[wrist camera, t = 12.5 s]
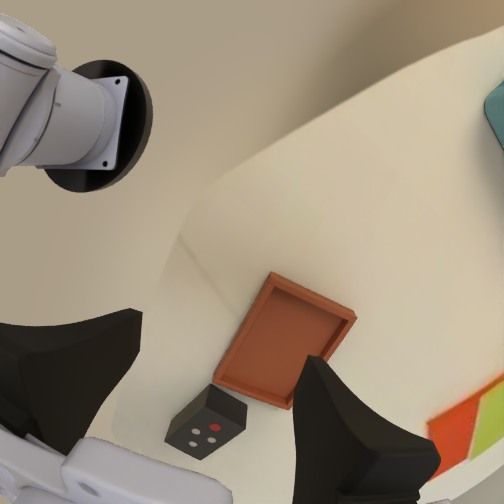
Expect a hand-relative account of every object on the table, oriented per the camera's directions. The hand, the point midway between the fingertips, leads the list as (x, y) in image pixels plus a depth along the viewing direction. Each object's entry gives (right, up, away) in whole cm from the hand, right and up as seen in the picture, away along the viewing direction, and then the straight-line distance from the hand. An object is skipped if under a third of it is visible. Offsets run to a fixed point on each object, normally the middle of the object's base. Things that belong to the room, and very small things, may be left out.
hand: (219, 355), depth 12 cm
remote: (-3, -11, +13) cm, 17 cm away
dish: (+4, -3, +10) cm, 11 cm away
